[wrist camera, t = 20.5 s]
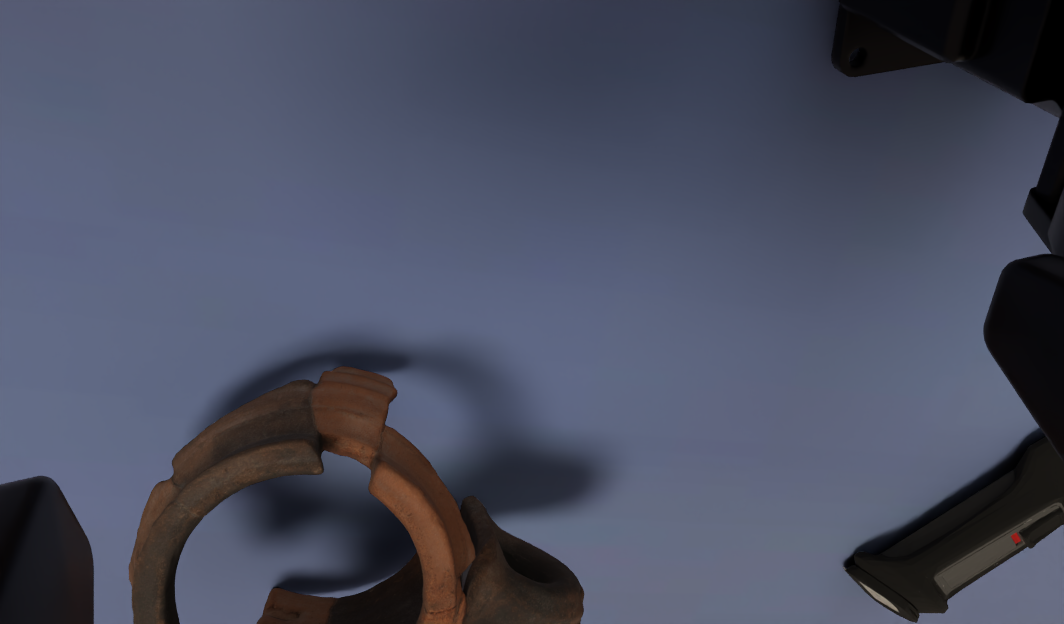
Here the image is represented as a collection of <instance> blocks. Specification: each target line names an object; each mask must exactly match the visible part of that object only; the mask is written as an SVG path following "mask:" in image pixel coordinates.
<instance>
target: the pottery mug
mask: <svg viewBox="0 0 1064 624" xmlns="http://www.w3.org/2000/svg"><path fill="white" fill-rule="evenodd" d="M396 396H397V390H396V389H395V388H394V386H393V383H392V381H391V380H390V379H389V378H387V377H384V376H382V375H379V374H376V373H373V372H369V371H365V370H360V369H356V368H353V367H345V366H342V367H338V368H335V369H334V370H333V371H325V372H323V373H322V375H321V377H320V380H319V382H318V384H315V383H313V382H311V381H309V380H296V381H293V382H290V383H288V384H286V385H284V386H282V387H279V388H277V389H275V390H272V391H270V392H267V393H265V394H263V395H261V396H260V397H258V398H256V399H254V400H252V401H250V402H248V403H246V404H244V405H242V406H241V407H239V408H238V409H236V410H234V411H232V412H230V413H228V414H227V415H225V416H224V417H222V418H220V419H219V420H217V421H216V422H215V423H213V424H211V425H210V426H208V427H207V428H206V429H205V430H204V431H202V432H201V433H200V434H199V435H198V436H197V437H196V438H194V439H193V440H192V441H191V442H189V443H188V444H187V445H186V446H184V447H183V448H182V449H181V450H180V451H179V452H178V453H177V454H176V455H175V457H174V459H173V460H172V465H173V468H174V474H173V476H172V477H171V478H170V479H169V480H166V481H161V482H159V483H158V484H157V485H156V486H155V487H154V488H153V490H152V492H151V494H150V497H149V499H148V502H147V504H146V506H145V509H144V511H143V514H142V518H141V522H140V526H139V528H138V532H137V539H136V542H135V546H134V550H133V553H132V557H131V562H130V564H129V580H130V582H131V585H132V609H133V613H134V624H180V623H179V618H178V613H177V609H176V602H175V574H176V569H177V564H178V561H179V558H180V555H181V552H182V550H183V547H184V544H185V542H186V540H187V539H188V537H189V535H190V534H191V532H192V531H193V530H194V528H195V527H196V526H197V525H198V524H199V522H200V521H201V520H202V518H203V517H204V516H205V515H207V514H208V513H209V512H210V511H211V510H213V509H214V508H215V507H216V506H217V505H218V504H219V503H221V502H222V501H223V500H225V499H226V498H228V497H229V496H231V495H232V494H234V493H236V492H238V491H239V490H241V489H243V488H245V487H247V486H250V485H252V484H255V483H258V482H261V481H265V480H269V479H272V478H277V477H281V476H290V475H319V474H322V473H323V471H324V468H323V463H322V460H321V454H322V452H323V451H324V450H326V451H328V452H332V453H334V454H338V455H341V456H348V457H350V458H353V459H356V460H357V461H359V462H360V463H362V464H363V465H365V466H366V467H368V468H369V469H371V479H370V483H369V488H368V490H369V492H370V493H371V494H372V495H373V496H375V497H376V498H377V499H378V500H380V501H381V502H382V503H383V504H384V505H385V506H386V507H387V508H388V509H389V510H390V511H391V512H392V513H393V514H394V515H395V516H396V517H397V518H398V519H399V520H400V521H401V523H402V524H403V525H404V526H405V528H406V529H407V531H408V532H409V534H410V536H411V538H412V540H413V542H414V545H415V547H416V550H417V552H416V554H415V555H414V557H413V558H412V559H411V560H410V561H409V562H408V563H407V564H406V565H405V566H404V567H403V568H402V569H401V570H400V571H398V572H397V573H396V574H395V575H393V576H391V577H390V578H388V579H387V580H385V581H383V582H381V583H379V584H377V585H376V586H374V587H372V588H371V589H369V590H366V591H364V592H361V593H358V594H355V595H351V596H345V597H341V598H333V597H317V596H311V595H302V594H298V593H294V592H290V591H287V590H284V589H281V588H274V589H272V590H271V592H270V594H269V596H268V599H267V602H266V604H265V607H264V611H263V615H262V617H261V618H260V619H259V620H258V622H257V624H580V621H581V617H582V615H583V612H584V608H583V599H584V591H583V588H582V587H581V585H580V583H579V581H578V579H577V577H576V576H575V575H574V573H573V572H572V571H571V570H570V569H569V568H568V567H567V566H566V565H564V564H563V563H562V562H560V561H559V560H558V559H556V558H554V557H553V556H551V555H549V554H548V553H546V552H544V551H543V550H541V549H539V548H537V547H535V546H533V545H531V544H529V543H527V542H525V541H523V540H521V539H519V538H516V537H514V536H513V535H511V534H509V533H507V532H505V531H503V530H502V529H501V528H499V527H498V526H497V525H496V523H495V522H494V521H493V520H492V519H491V517H490V516H489V514H488V513H487V511H486V508H485V507H484V506H483V504H482V503H481V502H480V501H479V500H478V499H477V498H476V497H474V496H468V497H466V498H464V499H463V500H462V505H461V510H459V508H458V505H457V503H456V501H455V500H454V498H453V497H452V495H451V494H450V492H449V491H448V490H447V488H446V486H445V485H444V483H443V482H442V481H441V479H440V478H439V476H438V475H437V473H436V471H435V470H434V468H433V467H432V465H431V464H430V462H429V461H428V460H427V459H426V458H425V456H424V455H423V454H422V453H421V452H420V451H419V450H418V449H417V448H416V447H415V446H414V445H413V444H412V443H411V442H409V441H408V440H407V439H406V438H405V437H404V436H402V435H401V434H399V433H398V432H397V431H396V430H395V429H393V428H390V427H388V426H386V425H385V421H386V418H387V413H388V406H389V404H390V402H392V401H393V399H394V398H395V397H396Z"/></svg>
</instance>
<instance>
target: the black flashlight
mask: <svg viewBox="0 0 1064 624" xmlns="http://www.w3.org/2000/svg"><path fill="white" fill-rule="evenodd" d="M1061 525H1064V462H1063V461H1062V459H1061V458H1060V456H1059V455H1058V454H1057V452H1056V451H1055V449H1054V448H1053V446H1052V445H1051V443H1050V442H1049V440H1048V439H1047V437H1044V438H1043V439H1041V440H1039V441H1037V442H1036V443H1034V444H1032V445H1031V446H1029V447H1028V449H1027V450H1026V452H1025V453H1024V455H1023V456H1022V458H1021V460H1020V461H1019V463H1018V465H1017V466H1016V468H1015V470H1012V471H1010V472H1009V473H1007V474H1006V475H1004V476H1002V477H1001V478H999V479H998V480H996V481H995V482H993V483H991V484H990V485H988V486H987V487H985V488H984V489H982V490H980V491H979V492H977V493H976V494H974V495H973V496H971V497H969V498H968V499H966V500H965V501H963V502H962V503H960V504H958V505H957V506H955V507H954V508H952V509H951V510H949V511H947V512H946V513H944V514H943V515H941V516H940V517H938V518H936V519H935V520H933V521H932V522H930V523H929V524H927V525H925V526H924V527H922V528H921V529H919V530H918V531H916V532H914V533H913V534H911V535H910V536H908V537H907V538H905V539H903V540H902V541H900V542H899V543H897V544H896V545H894V546H892V547H891V548H889V549H888V550H886V551H884V552H882V553H880V554H879V555H872V554H869V553H866V552H858V553H856V554H855V555H854V559H855V565H856V566H855V565H852V566H850V567H849V568H847V569H846V568H844V569H845V571H846V572H847V573H848V574H849V575H850V576H851V577H852V579H853V580H854V581H855V582H856V583H857V584H858V585H859V586H860V587H861V588H862V589H863V590H864V591H865V592H866V593H867V594H868V595H869V596H870V597H871V598H873V599H874V600H875V601H876V602H878V603H879V604H881V605H882V606H884V607H885V608H887V609H889V610H890V611H892V612H894V613H895V614H897V615H899V616H901V617H903V618H905V619H907V620H909V621H912V622H916V623H917V621H918V618H919V613H945V612H946V610H947V609H948V605H947V600H948V599H950V598H951V597H952V596H954V595H955V594H956V593H958V592H959V591H960V590H962V589H963V588H965V587H966V586H968V585H970V584H971V583H973V582H974V581H976V580H977V579H979V578H980V577H982V576H983V575H985V574H986V573H988V572H990V571H991V570H993V569H994V568H996V567H997V566H999V565H1000V564H1002V563H1003V562H1005V561H1006V560H1008V559H1010V558H1011V557H1013V556H1014V555H1016V554H1017V553H1019V552H1020V551H1022V550H1023V549H1025V548H1026V547H1029V548H1033V547H1034V546H1035V545H1036V544H1037V543H1038V542H1039V541H1041V540H1042V539H1043V538H1045V537H1046V536H1048V535H1049V534H1050V533H1052V532H1053V531H1054V530H1056V529H1057V528H1059V527H1060V526H1061ZM841 566H842V565H841Z"/></svg>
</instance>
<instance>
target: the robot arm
mask: <svg viewBox="0 0 1064 624" xmlns="http://www.w3.org/2000/svg"><path fill="white" fill-rule="evenodd" d="M839 2H840V6H839V12H838V18H837V24H836V31H835V37H834V43H833V49H832V64H833V66H834V68H835V69H837V70H839V71H840V72H842V73H843V74H845V75H846V76H848V77H858V76H864V75H870V74H876V73H882V72H888V71H894V70H900V69H906V68H912V67H918V66H924V65H930V64H936V63H942V62H945V63H951V64H953V65H955V66H957V67H959V68H960V69H962V70H964V71H966V72H968V73H970V74H972V75H974V76H976V77H978V78H979V79H981V80H983V81H985V82H987V83H989V84H991V85H993V86H995V87H997V88H998V89H1000V90H1002V91H1004V92H1006V93H1008V94H1010V95H1012V96H1014V97H1016V98H1017V99H1019V100H1021V101H1023V102H1025V103H1031V104H1033V105H1035V106H1037V107H1039V108H1041V109H1043V110H1045V111H1047V112H1048V113H1050V114H1052V115H1054V116H1056V117H1058V118H1059V121H1058V124H1057V127H1056V130H1055V133H1054V136H1053V139H1052V142H1051V145H1050V148H1049V151H1048V154H1047V157H1046V160H1045V163H1044V166H1043V169H1042V172H1041V175H1040V178H1039V181H1038V184H1037V187H1034V188H1031V189H1030V191H1029V194H1028V197H1027V200H1026V203H1025V206H1024V209H1023V215H1024V216H1025V218H1026V219H1027V220H1028V222H1029V223H1030V224H1031V226H1032V227H1033V229H1034V230H1035V231H1036V233H1037V234H1038V235H1039V237H1040V238H1041V240H1042V241H1043V242H1044V244H1045V245H1046V246H1047V248H1048V249H1049V251H1050V252H1051V253H1052V254H1040V255H1036V256H1031V257H1027V258H1022V259H1018V260H1014V261H1012V262H1010V263H1008V264H1007V266H1006V267H1005V268H1004V269H1003V270H1002V272H1001V275H1000V277H999V280H998V283H997V286H996V289H995V292H994V295H993V298H992V301H991V304H990V307H989V310H988V313H987V316H986V319H985V323H984V328H983V334H984V340H985V343H986V346H987V348H988V350H989V351H990V353H991V355H992V356H993V358H994V359H995V361H996V362H997V364H998V365H999V367H1000V368H1001V370H1002V371H1003V373H1004V374H1005V376H1006V377H1007V379H1008V380H1009V382H1010V383H1011V385H1012V386H1013V388H1014V389H1015V391H1016V392H1017V394H1018V395H1019V397H1020V398H1021V400H1022V401H1023V403H1024V404H1025V406H1026V407H1027V409H1028V410H1029V412H1030V413H1031V415H1032V416H1033V418H1034V419H1035V421H1036V422H1037V424H1038V425H1039V427H1040V428H1041V430H1042V431H1043V433H1044V434H1045V436H1046V437H1047V439H1048V440H1049V442H1050V443H1051V445H1052V446H1053V448H1054V449H1055V451H1056V452H1057V454H1058V455H1059V456H1060V458H1061V459H1062V461H1063V462H1064V0H839ZM857 48H858V49H859V51H858V53H857V56H856V57H855V58H854V59H853V60H852V61H850V62H849V58H850V55H851V53H852V52H853V51H854V50H855V49H857ZM0 624H94V566H93V556H92V551H91V547H90V544H89V541H88V538H87V536H86V534H85V533H84V531H83V529H82V527H81V525H80V524H79V522H78V520H77V518H76V517H75V515H74V513H73V511H72V509H71V508H70V506H69V504H68V502H67V500H66V499H65V497H64V495H63V493H62V491H61V490H60V488H59V486H58V485H57V484H56V482H55V481H53V480H52V479H51V478H49V477H46V476H37V477H32V478H28V479H23V480H19V481H14V482H10V483H5V484H1V485H0Z"/></svg>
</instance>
